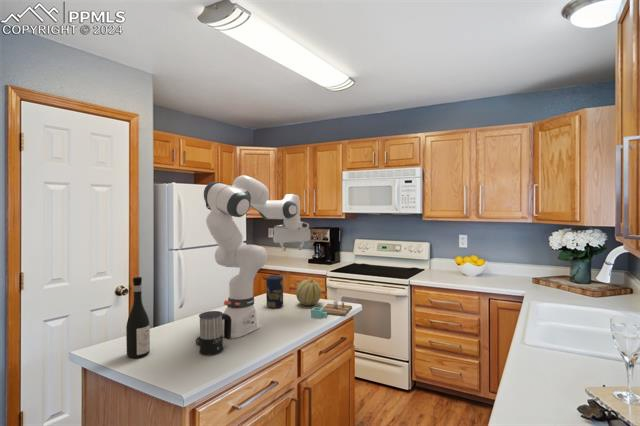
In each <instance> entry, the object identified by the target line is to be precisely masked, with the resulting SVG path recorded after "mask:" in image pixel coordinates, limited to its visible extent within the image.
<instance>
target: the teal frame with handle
mask: <svg viewBox="0 0 640 426" xmlns="http://www.w3.org/2000/svg"><path fill="white" fill-rule="evenodd" d="M310 318H311V319H319V318H320V319H323V318H325V319H327V318H328V315H327V312H324V308H323V307H312V308H311V309H310Z"/></svg>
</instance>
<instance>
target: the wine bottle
mask: <svg viewBox="0 0 640 426" xmlns="http://www.w3.org/2000/svg"><path fill="white" fill-rule="evenodd" d="M142 280H143V278H142V277H141V276H137V277H133V278H132V282H133V304H132V307H131V310H130V313H129V316H128V318H127V322H126V327H125V328H126V329H125V331H126V333H125V334H126V335H125V337H126V339H125V340H126V355H127V357H128V358H131V359H139V358H143V357H145V356H147V355H149V353H150V351H151V341H150V339H151V337H150V336H151V335H150V334H151V333H150V331H151V330H150V329H151V328H150V327H151V326H150V319H149V316H148V314H147V312H146V310H145V307H144V305H143V299H142V298H143V297H142Z"/></svg>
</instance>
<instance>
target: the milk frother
mask: <svg viewBox="0 0 640 426" xmlns="http://www.w3.org/2000/svg"><path fill="white" fill-rule="evenodd" d="M223 313H224V312H222V311H220V310H219V311H218V310H211V311H204V312H201V313H199V315H198V318H199V336H198V337H197V338H196V340H195V344H196V345H197V346H199V351H198V353H199V354H200V355H202V356H215V355H218V354H221V353H222V352H224V339H226V340H231V339H232V338H231V317H230V316H229V315H227V314H223ZM223 319H224V337H223V334H222V333H223V332H222V320H223ZM223 338H224V339H223Z"/></svg>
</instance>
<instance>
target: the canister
mask: <svg viewBox="0 0 640 426" xmlns="http://www.w3.org/2000/svg"><path fill="white" fill-rule="evenodd" d="M265 281H266V283H265V284H266V285H265V287H266V292H265V293H266V307H268V308H273V309H276V308H281V307H282V306H283V305H284V277H283V276H281V275H278V274H272V275H269V276H267V277H266V280H265Z"/></svg>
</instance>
